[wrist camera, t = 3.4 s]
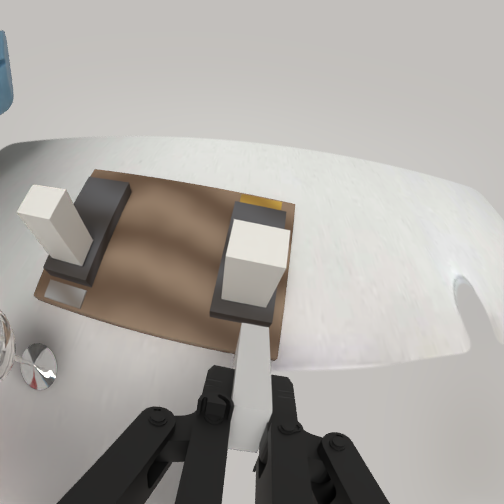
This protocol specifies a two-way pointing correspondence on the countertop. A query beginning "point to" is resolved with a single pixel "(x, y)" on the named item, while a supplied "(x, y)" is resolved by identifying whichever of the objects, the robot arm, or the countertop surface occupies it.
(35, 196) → the lever
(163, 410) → the robot arm
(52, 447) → the countertop surface
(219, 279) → the switch unit
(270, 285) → the lever
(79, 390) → the countertop surface
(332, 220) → the countertop surface
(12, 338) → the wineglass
